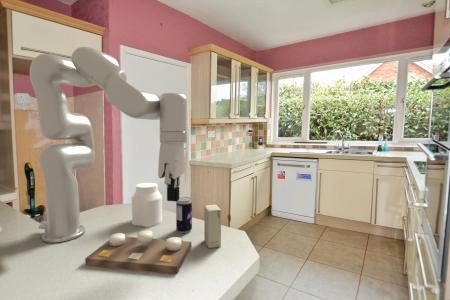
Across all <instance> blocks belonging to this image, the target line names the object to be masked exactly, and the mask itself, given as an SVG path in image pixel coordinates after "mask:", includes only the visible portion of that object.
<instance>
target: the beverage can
mask: <svg viewBox="0 0 450 300" xmlns="http://www.w3.org/2000/svg"><path fill="white" fill-rule="evenodd" d="M175 204H176V205H175V210H176V211H175V214H176V215H175V217H176V219H175V220H176V221H175V229H176V231H177V232H178V233H180V234H186V233H189V232H190V231H191V230H192V229H193V201H192V198H191V197H189V196H181V197H180V196H179V200H178V201H175Z"/></svg>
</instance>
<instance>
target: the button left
mask: <svg viewBox="0 0 450 300" xmlns="http://www.w3.org/2000/svg"><path fill="white" fill-rule="evenodd" d="M125 237H126V234H125V233H122V232H117V233H113V234H111V235H109V237H108V238H109V239H108V241H109V242H110V245H111V246H119V245H122V244H124V243H125Z"/></svg>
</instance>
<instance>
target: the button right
mask: <svg viewBox="0 0 450 300" xmlns="http://www.w3.org/2000/svg"><path fill="white" fill-rule="evenodd" d="M165 240H166V248H167V249H168V250H170V251H175V250H178V249H180V248H181V241H182V238H181V237H176V236H173V237H172V236H171V237H168V238H167V239H165Z"/></svg>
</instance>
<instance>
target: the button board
mask: <svg viewBox="0 0 450 300" xmlns="http://www.w3.org/2000/svg"><path fill="white" fill-rule="evenodd" d="M166 240H167V239H161V238H153V240H152V241H151V242H148V243H139V242H138V241H137V237H135V236H134V237H133V236H125V243H124V244H122V245H119V246H111V245H110V242H109V240H107V241H106V242H105V243H103V244H102V245H101V246H100V247H98V248H97V249H95V250H94V251H93V252H92V253H90V254H89V255H88V256H86V257H85V266H90V267H91V266H92V267H101V268H113V269H119V270H120V269H121V270H132V271H144V272H145V271H146V272H153V273H163V274H175V275H178V273H179V271H180V269H181V268H182V266H183V264H184V263H185V261H186V258H187V257H188V255H189V253H190V252H191V249H192V241H186V240H181V248H180V249H178V250H175V251H170V250H168V249H167V248H166Z"/></svg>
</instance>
